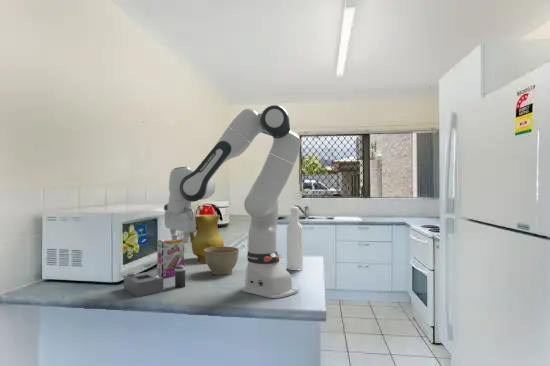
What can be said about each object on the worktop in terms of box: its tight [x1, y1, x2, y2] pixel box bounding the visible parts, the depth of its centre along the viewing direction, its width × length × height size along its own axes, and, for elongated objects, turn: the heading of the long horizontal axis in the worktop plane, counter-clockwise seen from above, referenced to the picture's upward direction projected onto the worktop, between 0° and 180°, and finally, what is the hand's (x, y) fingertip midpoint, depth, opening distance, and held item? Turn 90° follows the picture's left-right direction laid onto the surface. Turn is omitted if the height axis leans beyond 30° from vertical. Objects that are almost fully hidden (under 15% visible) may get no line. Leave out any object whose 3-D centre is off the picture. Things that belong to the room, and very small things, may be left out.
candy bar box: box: [156, 237, 185, 279], centre depth 161 cm, size 11×5×16 cm, turn 137°
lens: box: [174, 264, 186, 289], centre depth 143 cm, size 4×4×8 cm
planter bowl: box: [204, 246, 240, 276], centre depth 166 cm, size 16×16×11 cm
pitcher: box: [189, 214, 225, 263], centre depth 195 cm, size 17×19×25 cm
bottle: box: [286, 206, 304, 270], centre depth 173 cm, size 8×8×30 cm
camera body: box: [123, 271, 164, 298], centre depth 139 cm, size 14×10×6 cm
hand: (179, 241), depth 144 cm, fingers open, 8 cm apart
